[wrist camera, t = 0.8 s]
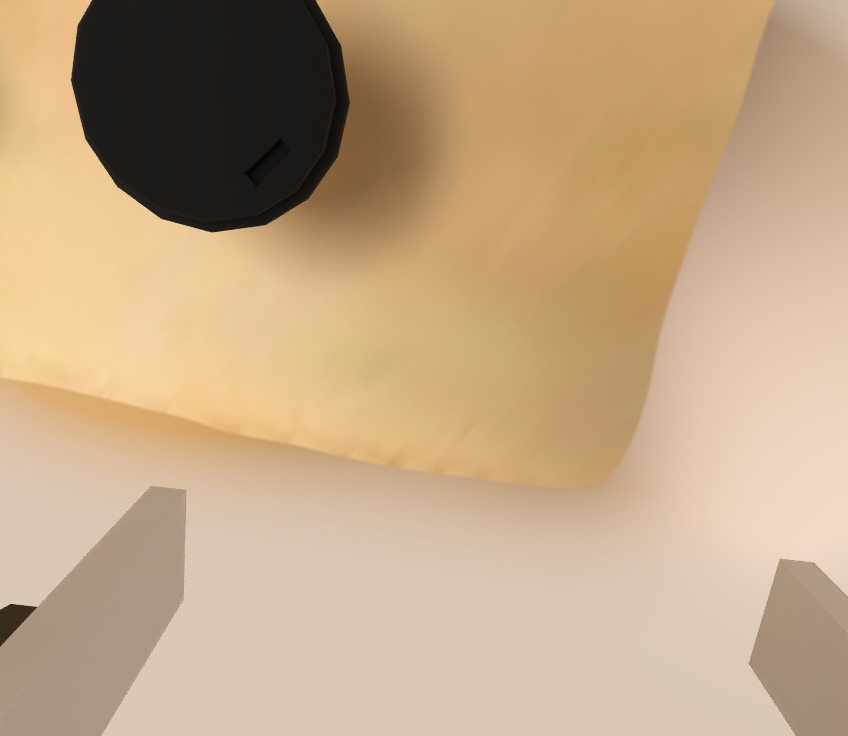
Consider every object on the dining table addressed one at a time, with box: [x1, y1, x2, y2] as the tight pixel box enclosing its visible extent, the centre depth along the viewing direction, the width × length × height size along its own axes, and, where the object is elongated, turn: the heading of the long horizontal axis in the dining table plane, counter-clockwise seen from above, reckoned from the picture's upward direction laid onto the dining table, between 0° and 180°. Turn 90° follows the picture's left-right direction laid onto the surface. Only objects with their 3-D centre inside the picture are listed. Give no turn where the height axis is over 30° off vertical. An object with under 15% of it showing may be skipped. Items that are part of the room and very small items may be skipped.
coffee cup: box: [71, 0, 350, 232], centre depth 31 cm, size 11×11×12 cm
